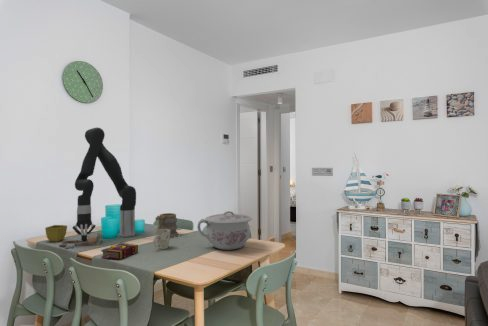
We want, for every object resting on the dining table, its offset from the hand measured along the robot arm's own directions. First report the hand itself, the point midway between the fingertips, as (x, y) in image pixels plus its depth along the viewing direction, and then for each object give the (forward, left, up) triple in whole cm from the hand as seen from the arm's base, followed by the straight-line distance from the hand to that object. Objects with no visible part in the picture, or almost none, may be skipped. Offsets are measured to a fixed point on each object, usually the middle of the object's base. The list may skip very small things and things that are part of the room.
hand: (84, 241), depth 191 cm
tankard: (-47, -3, -2) cm, 47 cm away
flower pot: (+17, -14, -2) cm, 22 cm away
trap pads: (+4, 0, -1) cm, 4 cm away
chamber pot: (-79, +36, -2) cm, 87 cm away
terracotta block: (-5, 0, -2) cm, 5 cm away
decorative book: (-21, +32, -2) cm, 38 cm away
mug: (-42, +27, -2) cm, 50 cm away
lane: (+1, 0, -2) cm, 2 cm away
